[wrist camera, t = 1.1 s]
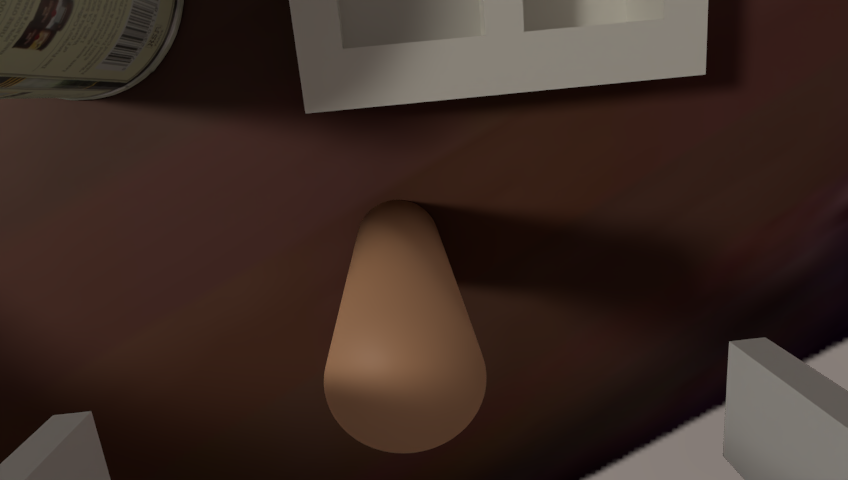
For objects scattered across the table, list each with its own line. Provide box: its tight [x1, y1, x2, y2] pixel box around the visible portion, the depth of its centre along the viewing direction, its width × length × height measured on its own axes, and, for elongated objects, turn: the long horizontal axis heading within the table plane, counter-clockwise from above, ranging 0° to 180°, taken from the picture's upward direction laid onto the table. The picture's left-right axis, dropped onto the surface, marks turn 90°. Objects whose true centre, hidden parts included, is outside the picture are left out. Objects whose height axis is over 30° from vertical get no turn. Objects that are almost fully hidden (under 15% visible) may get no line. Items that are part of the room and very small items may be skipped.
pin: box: [324, 200, 486, 453], centre depth 20 cm, size 4×4×14 cm
